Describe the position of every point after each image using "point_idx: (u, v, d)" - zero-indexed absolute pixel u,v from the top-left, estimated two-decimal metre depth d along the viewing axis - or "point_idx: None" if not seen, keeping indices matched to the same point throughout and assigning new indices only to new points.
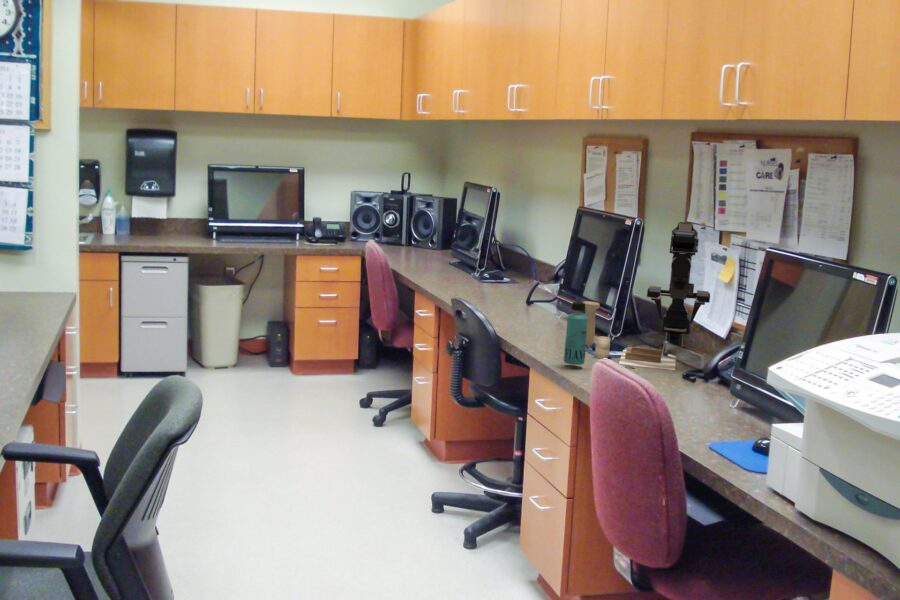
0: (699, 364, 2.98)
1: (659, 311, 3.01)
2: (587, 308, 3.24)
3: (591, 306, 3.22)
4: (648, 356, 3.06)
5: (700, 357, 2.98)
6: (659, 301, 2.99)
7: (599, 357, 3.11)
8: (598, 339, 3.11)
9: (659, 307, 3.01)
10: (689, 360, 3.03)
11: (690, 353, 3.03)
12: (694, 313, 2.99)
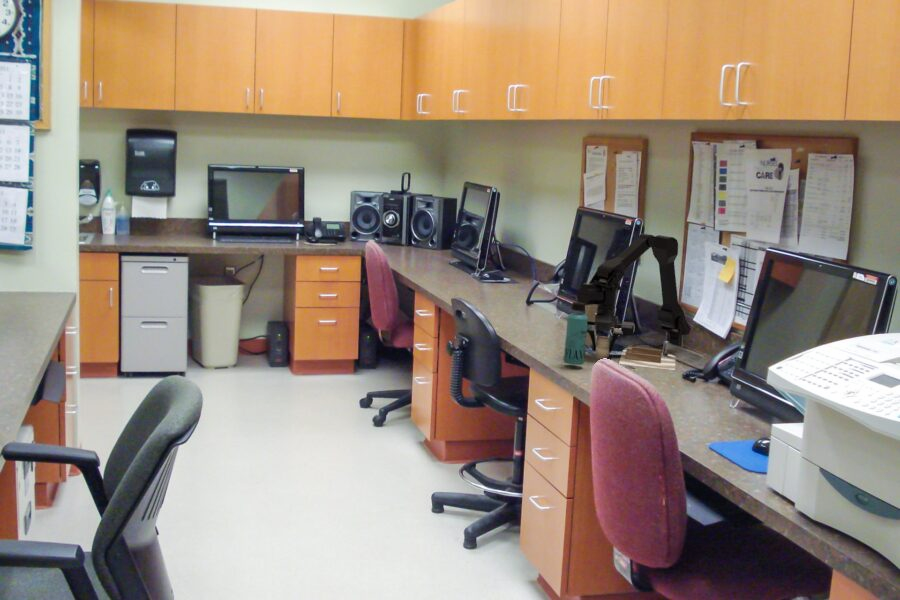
0: (699, 364, 2.98)
1: (593, 342, 3.12)
2: (587, 308, 3.24)
3: (591, 306, 3.22)
4: (648, 356, 3.06)
5: (700, 357, 2.98)
6: (593, 333, 3.10)
7: (599, 357, 3.11)
8: (598, 339, 3.11)
9: (593, 338, 3.11)
10: (689, 360, 3.03)
11: (690, 353, 3.03)
12: (612, 343, 3.10)
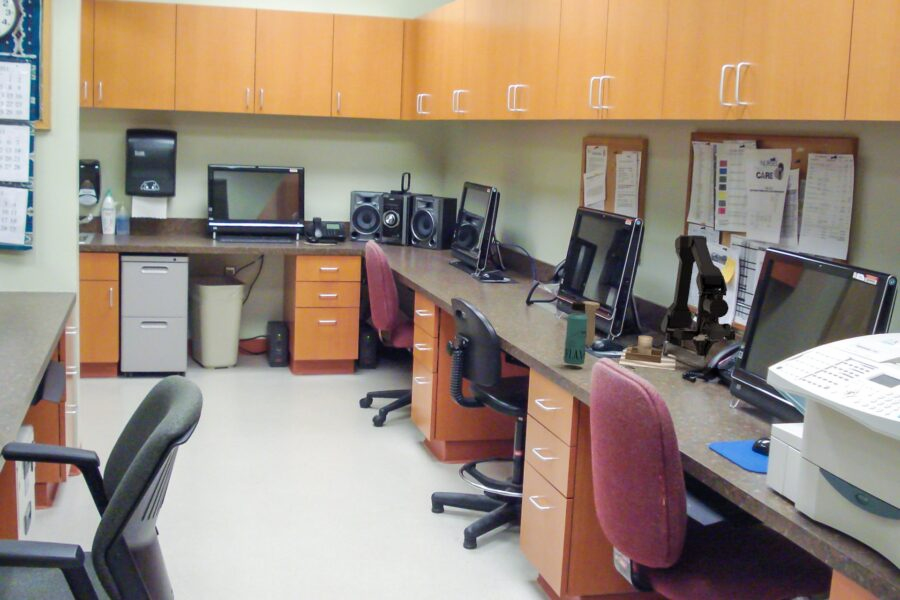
0: (699, 364, 2.98)
1: (702, 352, 3.00)
2: (587, 308, 3.24)
3: (591, 306, 3.22)
4: (648, 356, 3.06)
5: (700, 357, 2.98)
6: (705, 343, 2.98)
7: None
8: (640, 338, 3.10)
9: (702, 348, 3.00)
10: (689, 360, 3.03)
11: (690, 353, 3.03)
12: (707, 351, 3.00)
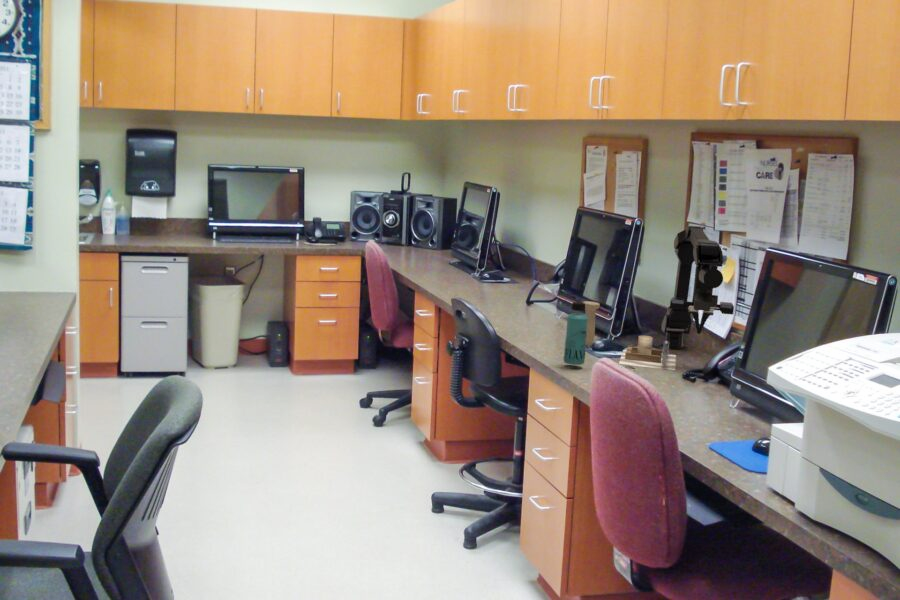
0: (662, 362, 2.98)
1: (697, 324, 2.97)
2: (587, 308, 3.24)
3: (591, 306, 3.22)
4: (648, 356, 3.06)
5: None
6: (697, 314, 2.95)
7: None
8: (640, 338, 3.10)
9: (696, 320, 2.97)
10: None
11: None
12: (702, 323, 2.97)
